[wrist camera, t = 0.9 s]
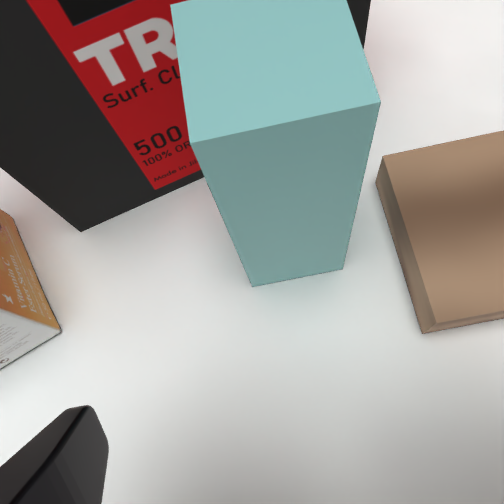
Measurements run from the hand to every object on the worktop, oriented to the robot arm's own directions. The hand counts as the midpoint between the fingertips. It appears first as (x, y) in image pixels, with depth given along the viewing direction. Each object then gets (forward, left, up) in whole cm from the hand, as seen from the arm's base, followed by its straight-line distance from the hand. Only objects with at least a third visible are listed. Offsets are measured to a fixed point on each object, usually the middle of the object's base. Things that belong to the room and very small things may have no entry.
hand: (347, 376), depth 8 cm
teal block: (+8, 0, -13) cm, 15 cm away
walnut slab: (+6, -9, -13) cm, 17 cm away
